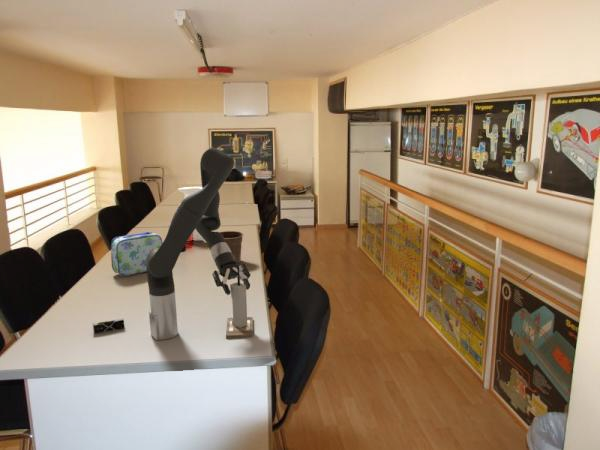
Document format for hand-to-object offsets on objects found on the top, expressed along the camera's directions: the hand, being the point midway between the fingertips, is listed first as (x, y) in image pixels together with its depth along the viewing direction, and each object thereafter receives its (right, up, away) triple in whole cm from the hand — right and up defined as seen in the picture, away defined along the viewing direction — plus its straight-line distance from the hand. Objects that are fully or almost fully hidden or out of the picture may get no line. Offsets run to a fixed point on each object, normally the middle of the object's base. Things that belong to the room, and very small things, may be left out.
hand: (238, 291), depth 189 cm
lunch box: (-62, 0, +74) cm, 97 cm away
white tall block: (-43, +15, +137) cm, 144 cm away
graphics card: (-51, -16, +3) cm, 54 cm away
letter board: (0, -15, +3) cm, 15 cm away
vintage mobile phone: (0, -14, +3) cm, 14 cm away
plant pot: (-16, +4, +89) cm, 90 cm away
